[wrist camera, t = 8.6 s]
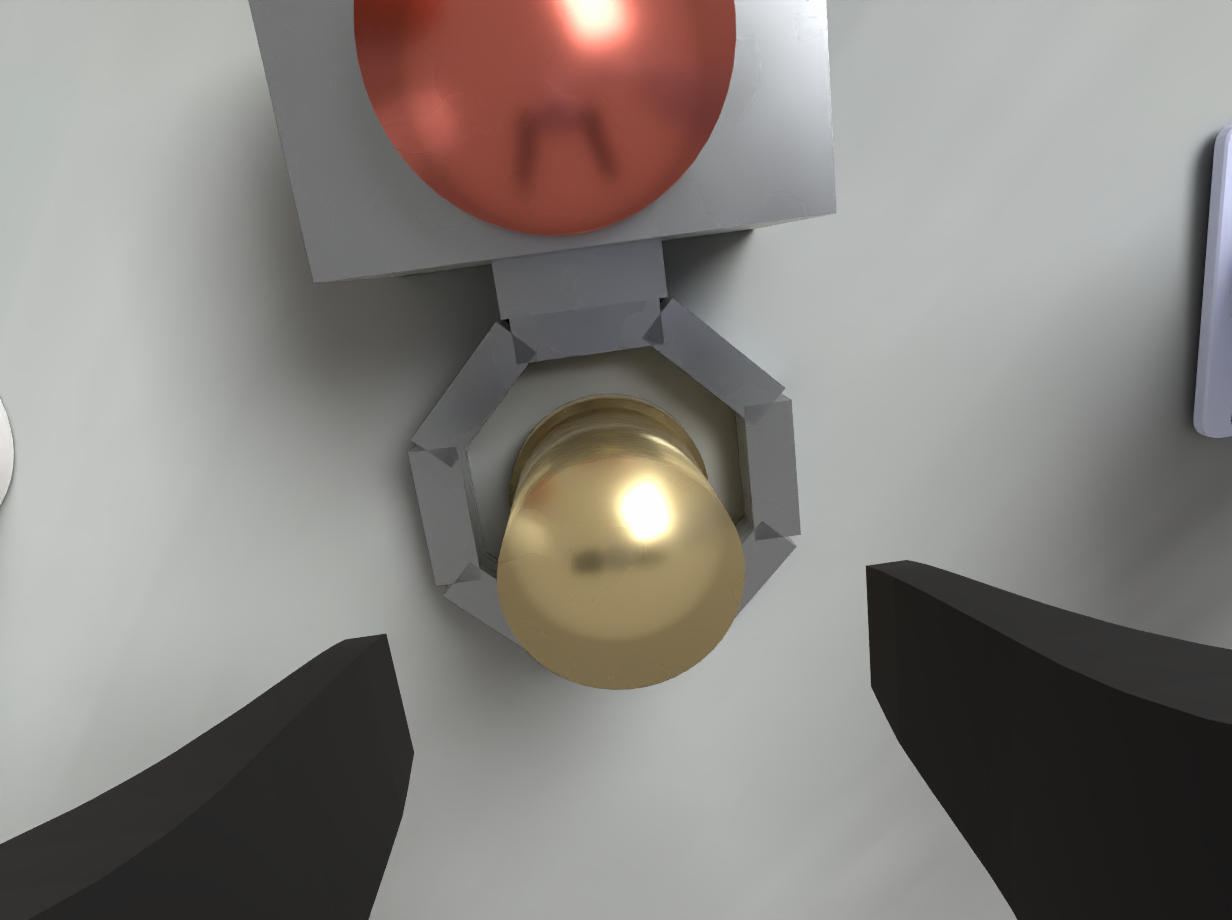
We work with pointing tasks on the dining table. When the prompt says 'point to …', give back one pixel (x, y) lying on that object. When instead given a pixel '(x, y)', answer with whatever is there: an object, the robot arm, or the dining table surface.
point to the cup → (5, 452)
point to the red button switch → (556, 198)
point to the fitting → (617, 547)
